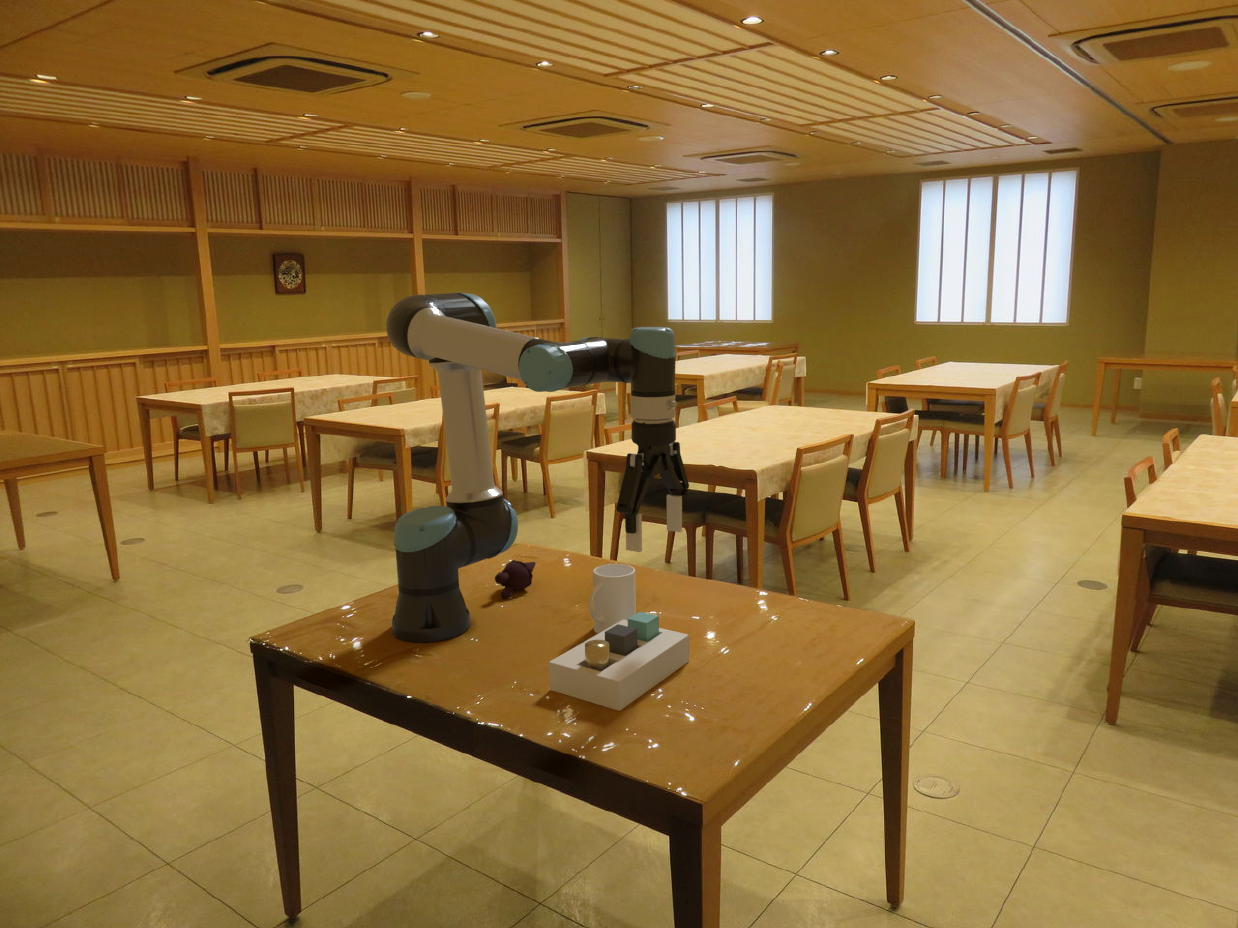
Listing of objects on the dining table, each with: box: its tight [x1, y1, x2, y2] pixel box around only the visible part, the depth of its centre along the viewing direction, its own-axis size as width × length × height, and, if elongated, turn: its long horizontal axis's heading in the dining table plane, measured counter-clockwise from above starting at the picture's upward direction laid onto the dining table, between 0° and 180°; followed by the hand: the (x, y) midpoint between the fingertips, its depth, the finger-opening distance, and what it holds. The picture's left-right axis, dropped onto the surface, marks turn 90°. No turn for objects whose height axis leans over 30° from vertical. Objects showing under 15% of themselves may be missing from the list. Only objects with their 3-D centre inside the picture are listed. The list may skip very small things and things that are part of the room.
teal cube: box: [628, 611, 660, 642], centre depth 160 cm, size 4×4×4 cm
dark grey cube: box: [605, 624, 638, 656], centre depth 154 cm, size 4×4×4 cm
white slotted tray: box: [548, 619, 690, 712], centre depth 155 cm, size 14×22×5 cm, turn 146°
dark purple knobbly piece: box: [494, 559, 537, 600], centre depth 199 cm, size 7×7×15 cm
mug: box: [588, 563, 637, 635], centre depth 174 cm, size 12×8×12 cm
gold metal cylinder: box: [585, 640, 610, 671], centre depth 149 cm, size 4×4×4 cm
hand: (654, 540), depth 157 cm, fingers open, 13 cm apart
